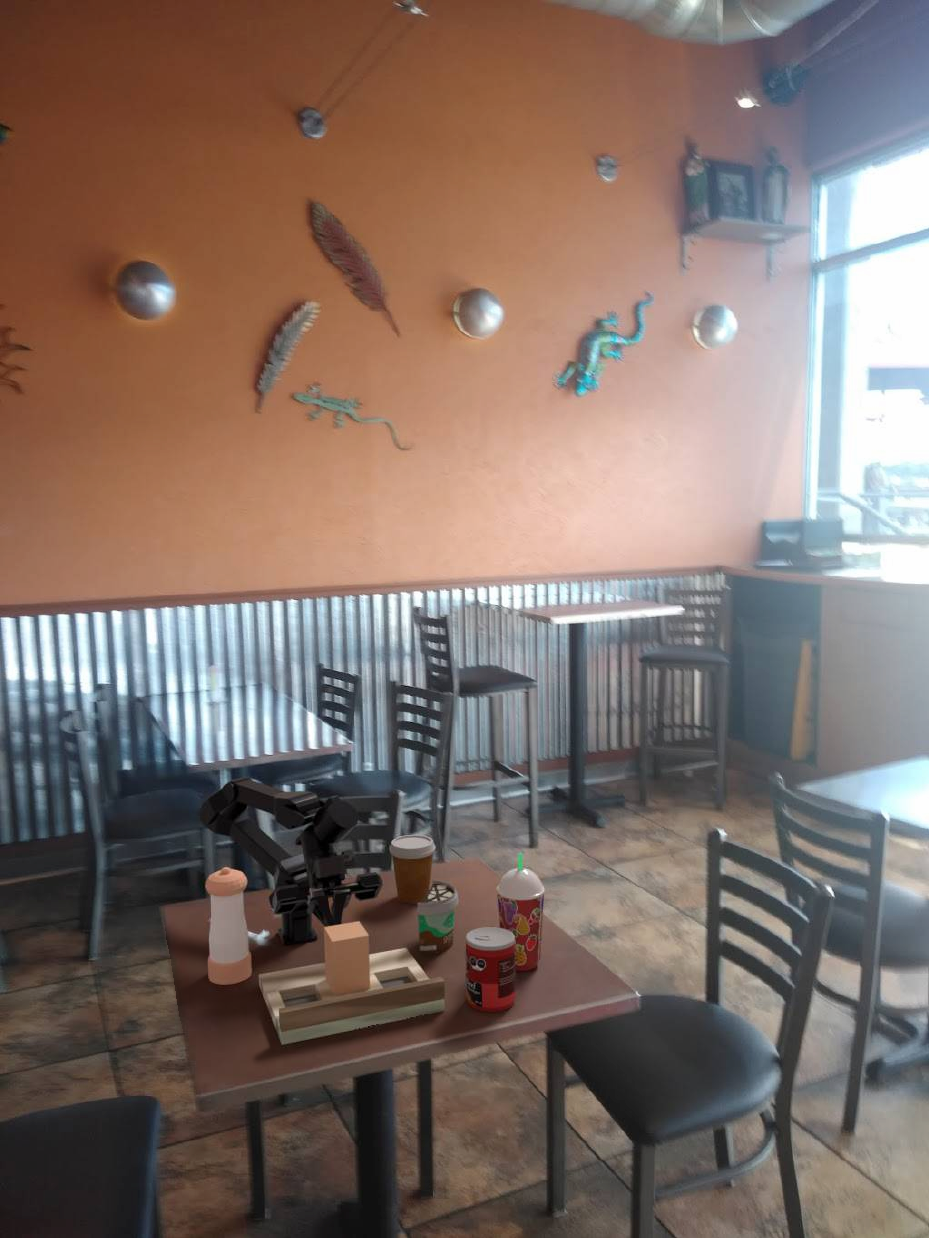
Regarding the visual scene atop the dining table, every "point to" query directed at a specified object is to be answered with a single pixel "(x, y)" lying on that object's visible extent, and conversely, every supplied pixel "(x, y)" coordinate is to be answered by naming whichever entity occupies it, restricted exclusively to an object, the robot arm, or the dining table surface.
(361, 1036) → the dining table surface
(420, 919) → the food container
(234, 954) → the salt shaker
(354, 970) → the block
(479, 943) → the canned food
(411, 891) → the disposable coffee cup
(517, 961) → the smoothie
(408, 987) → the board
